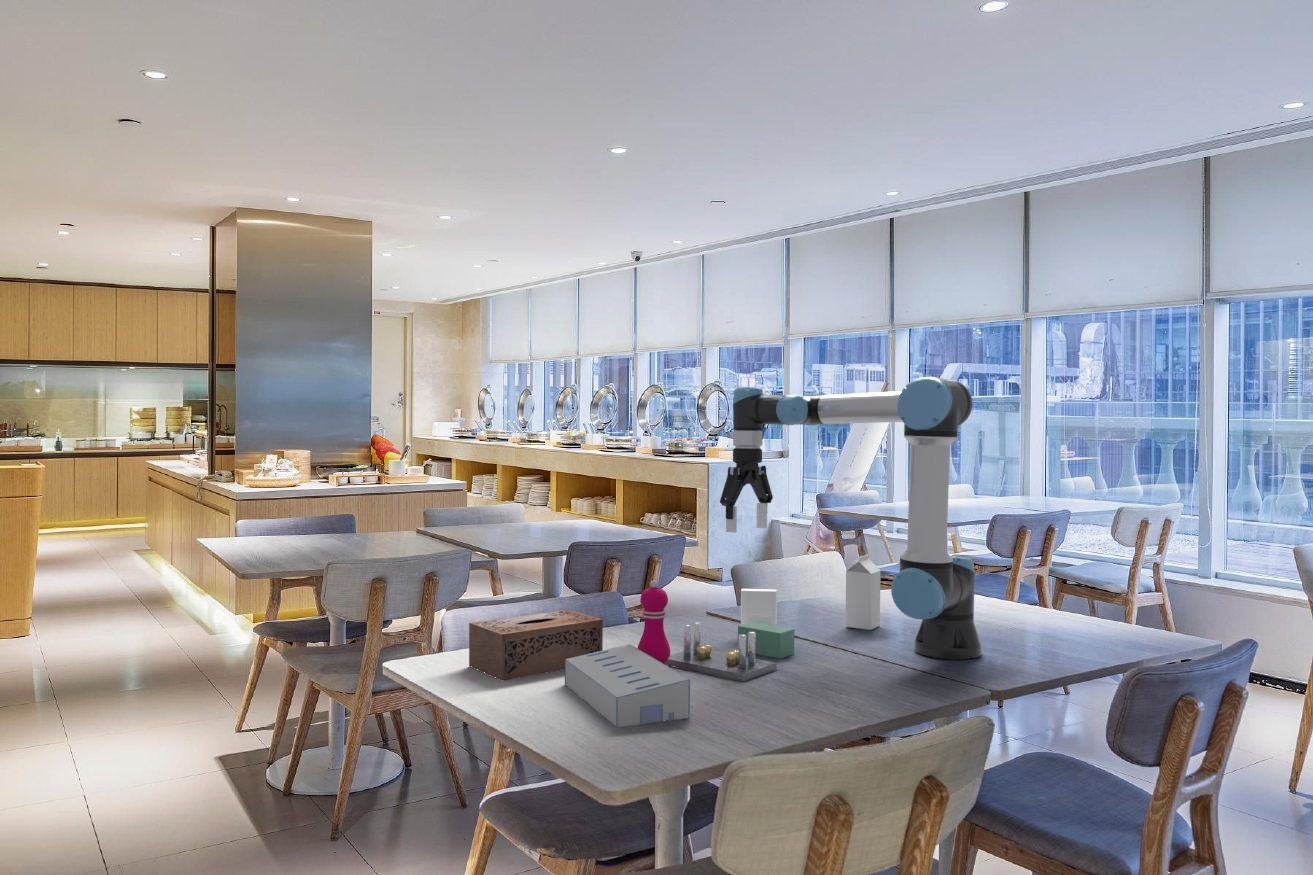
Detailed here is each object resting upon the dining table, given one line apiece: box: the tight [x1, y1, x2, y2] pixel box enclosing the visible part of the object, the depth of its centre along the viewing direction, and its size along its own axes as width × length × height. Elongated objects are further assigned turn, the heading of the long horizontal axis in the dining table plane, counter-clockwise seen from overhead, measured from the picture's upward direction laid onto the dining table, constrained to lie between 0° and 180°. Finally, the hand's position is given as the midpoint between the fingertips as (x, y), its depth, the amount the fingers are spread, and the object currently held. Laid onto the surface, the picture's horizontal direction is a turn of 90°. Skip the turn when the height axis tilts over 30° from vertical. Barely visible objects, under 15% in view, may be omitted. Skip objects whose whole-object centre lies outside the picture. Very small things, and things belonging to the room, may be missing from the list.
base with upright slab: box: [740, 588, 778, 626], centre depth 244 cm, size 9×9×12 cm
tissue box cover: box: [468, 609, 604, 681], centre depth 215 cm, size 26×14×10 cm, turn 128°
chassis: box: [665, 621, 778, 683], centre depth 214 cm, size 22×13×8 cm, turn 50°
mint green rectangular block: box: [737, 622, 795, 659], centre depth 229 cm, size 12×6×6 cm, turn 50°
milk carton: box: [845, 553, 881, 631], centre depth 258 cm, size 7×7×19 cm
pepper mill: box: [636, 579, 671, 667], centre depth 209 cm, size 7×7×20 cm
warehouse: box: [564, 643, 691, 728], centre depth 188 cm, size 30×14×8 cm, turn 23°
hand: (746, 530), depth 248 cm, fingers open, 13 cm apart
